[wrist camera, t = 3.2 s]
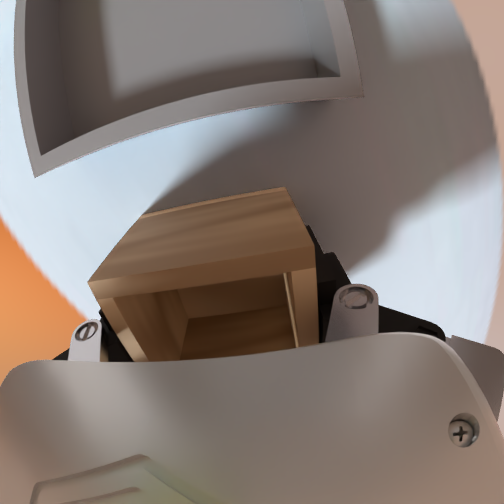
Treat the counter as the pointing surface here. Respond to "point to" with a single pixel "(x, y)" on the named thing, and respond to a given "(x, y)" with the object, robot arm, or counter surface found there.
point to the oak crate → (212, 280)
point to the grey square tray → (168, 65)
